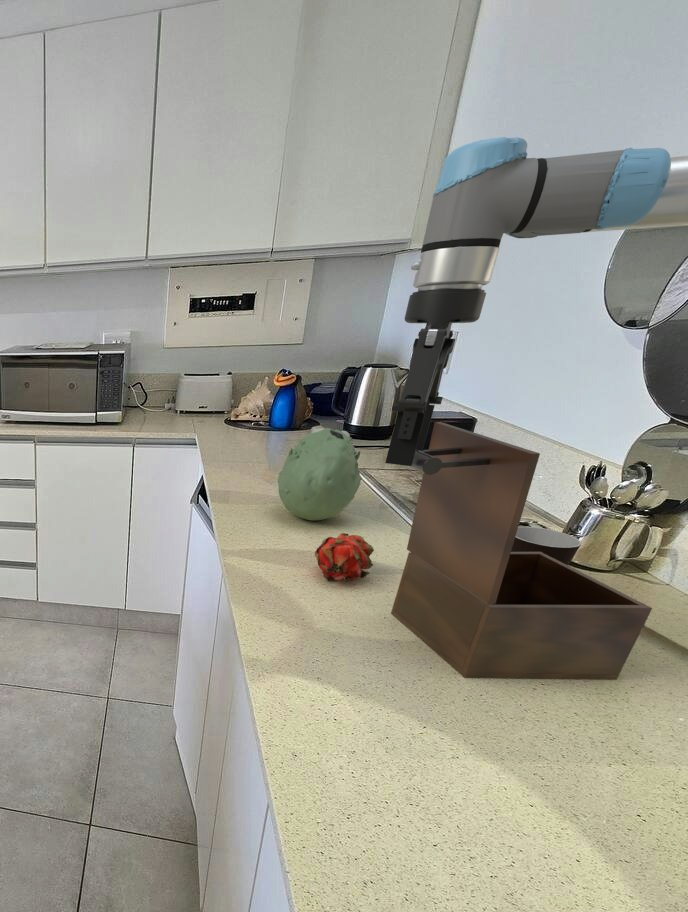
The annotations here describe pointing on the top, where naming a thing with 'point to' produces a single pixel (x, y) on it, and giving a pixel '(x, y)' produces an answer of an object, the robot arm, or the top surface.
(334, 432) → the green bumpy ovoid
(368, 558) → the dragon fruit
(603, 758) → the top surface
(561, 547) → the coffee mug
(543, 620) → the bread bin
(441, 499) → the bin lid
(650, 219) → the robot arm
